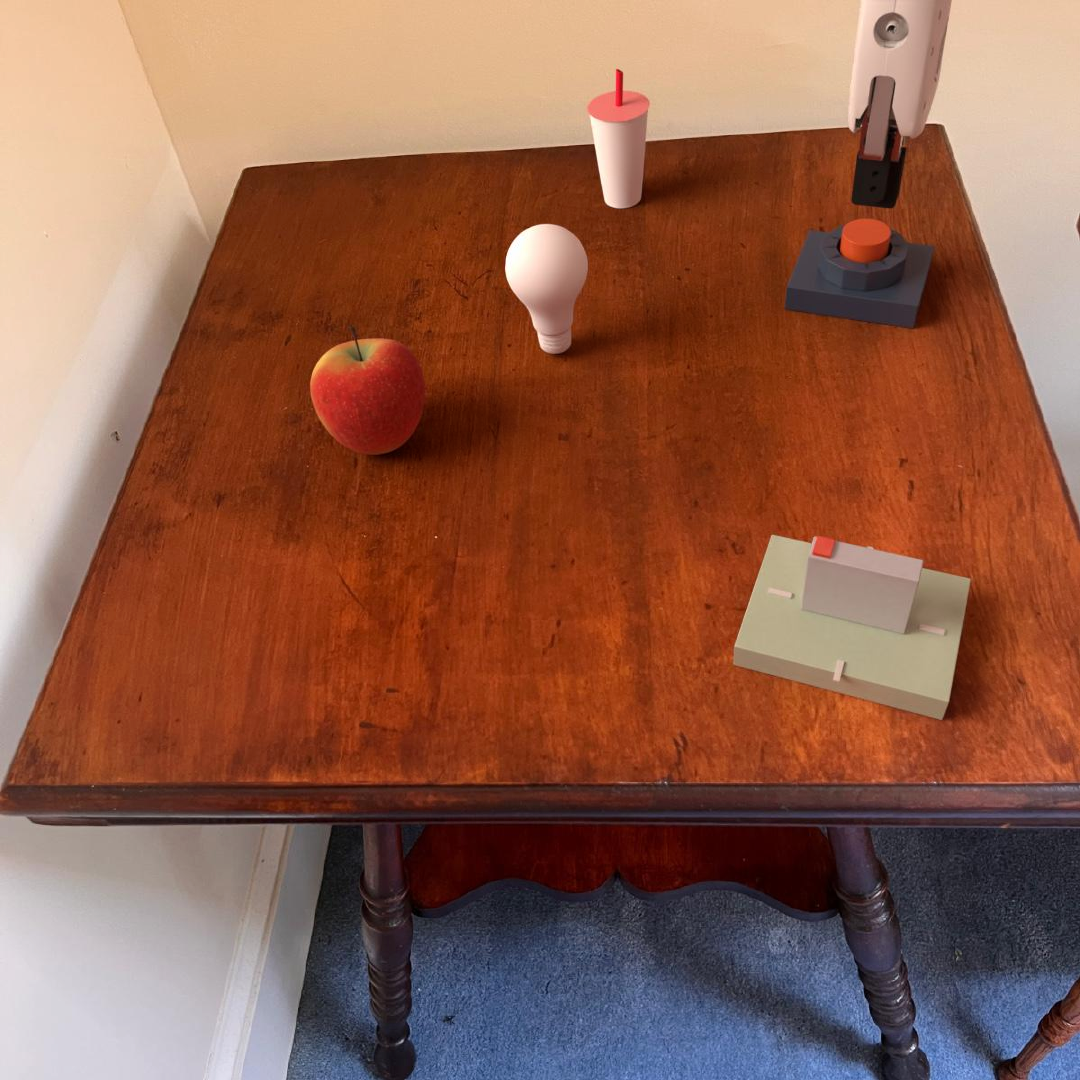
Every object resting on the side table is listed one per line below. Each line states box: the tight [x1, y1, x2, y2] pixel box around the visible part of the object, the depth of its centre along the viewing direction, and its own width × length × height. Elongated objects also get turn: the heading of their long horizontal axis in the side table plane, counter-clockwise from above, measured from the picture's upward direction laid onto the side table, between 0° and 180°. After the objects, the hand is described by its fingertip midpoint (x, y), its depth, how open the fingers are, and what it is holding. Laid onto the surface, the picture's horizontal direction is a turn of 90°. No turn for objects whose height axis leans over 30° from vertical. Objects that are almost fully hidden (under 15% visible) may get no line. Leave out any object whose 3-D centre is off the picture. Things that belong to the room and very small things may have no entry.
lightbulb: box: [504, 223, 589, 355], centre depth 78 cm, size 6×6×11 cm
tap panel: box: [732, 534, 972, 721], centre depth 62 cm, size 12×10×2 cm
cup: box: [586, 68, 651, 209], centre depth 91 cm, size 5×5×12 cm
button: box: [840, 218, 891, 263], centre depth 80 cm, size 4×4×2 cm
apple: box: [309, 325, 426, 456], centre depth 74 cm, size 8×8×10 cm
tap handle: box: [801, 535, 924, 634], centre depth 59 cm, size 6×2×5 cm, turn 68°
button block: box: [784, 224, 935, 329], centre depth 82 cm, size 10×8×4 cm
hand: (874, 200), depth 77 cm, fingers closed
